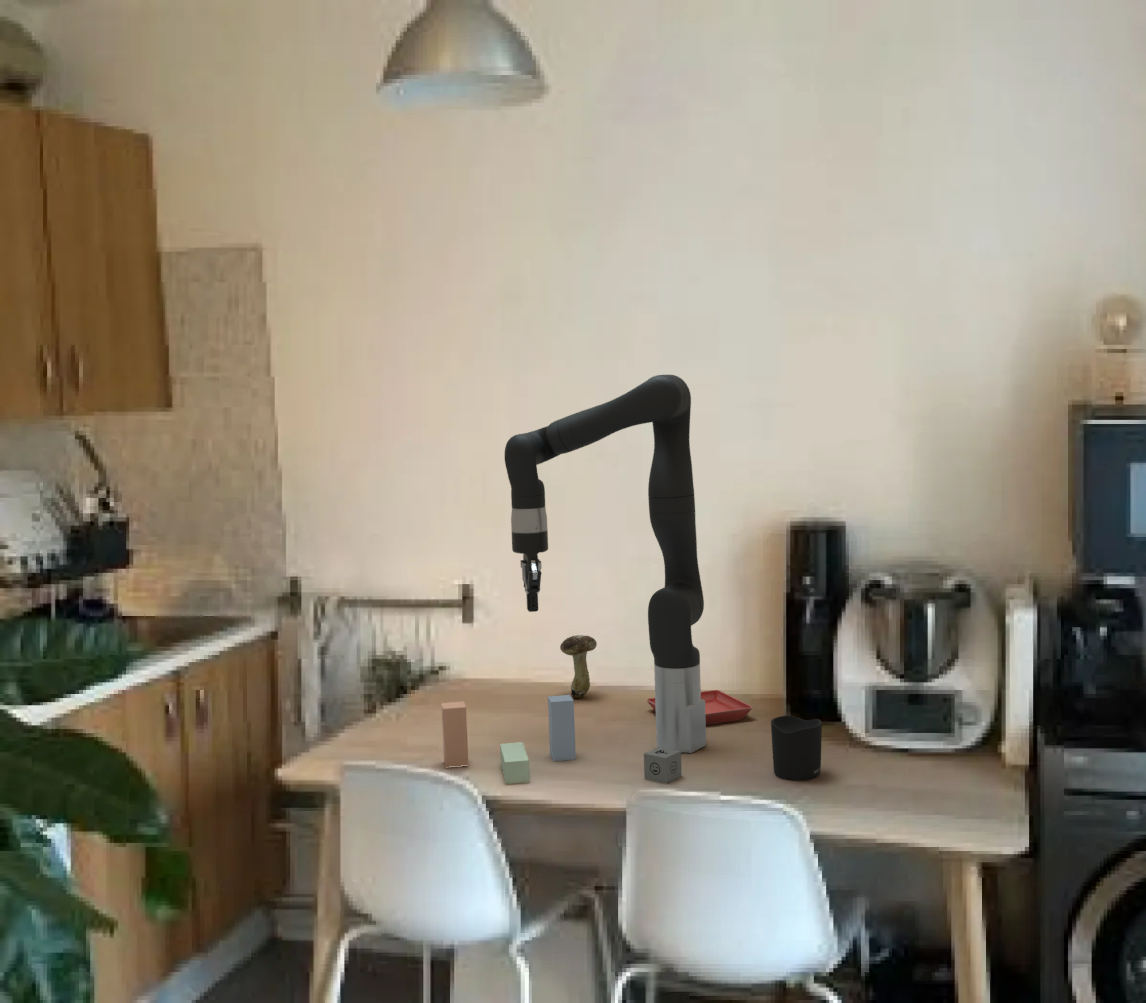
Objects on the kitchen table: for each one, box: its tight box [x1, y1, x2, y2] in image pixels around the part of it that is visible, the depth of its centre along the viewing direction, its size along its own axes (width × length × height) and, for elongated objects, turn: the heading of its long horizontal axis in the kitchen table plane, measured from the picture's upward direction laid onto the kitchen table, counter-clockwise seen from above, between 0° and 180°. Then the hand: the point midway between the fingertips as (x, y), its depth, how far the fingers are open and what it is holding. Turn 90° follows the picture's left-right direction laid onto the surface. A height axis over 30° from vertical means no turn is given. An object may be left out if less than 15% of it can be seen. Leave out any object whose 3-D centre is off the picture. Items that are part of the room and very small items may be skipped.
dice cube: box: [643, 747, 682, 785], centre depth 241 cm, size 5×5×5 cm
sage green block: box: [499, 741, 530, 785], centre depth 247 cm, size 4×4×12 cm
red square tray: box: [646, 689, 753, 726], centre depth 283 cm, size 18×18×3 cm
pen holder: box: [770, 715, 823, 781], centre depth 240 cm, size 9×9×10 cm
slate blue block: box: [547, 694, 577, 762], centre depth 256 cm, size 4×4×12 cm
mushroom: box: [559, 634, 598, 699], centre depth 300 cm, size 9×9×15 cm
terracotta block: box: [440, 701, 469, 768], centre depth 254 cm, size 4×4×12 cm
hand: (532, 610), depth 268 cm, fingers closed
